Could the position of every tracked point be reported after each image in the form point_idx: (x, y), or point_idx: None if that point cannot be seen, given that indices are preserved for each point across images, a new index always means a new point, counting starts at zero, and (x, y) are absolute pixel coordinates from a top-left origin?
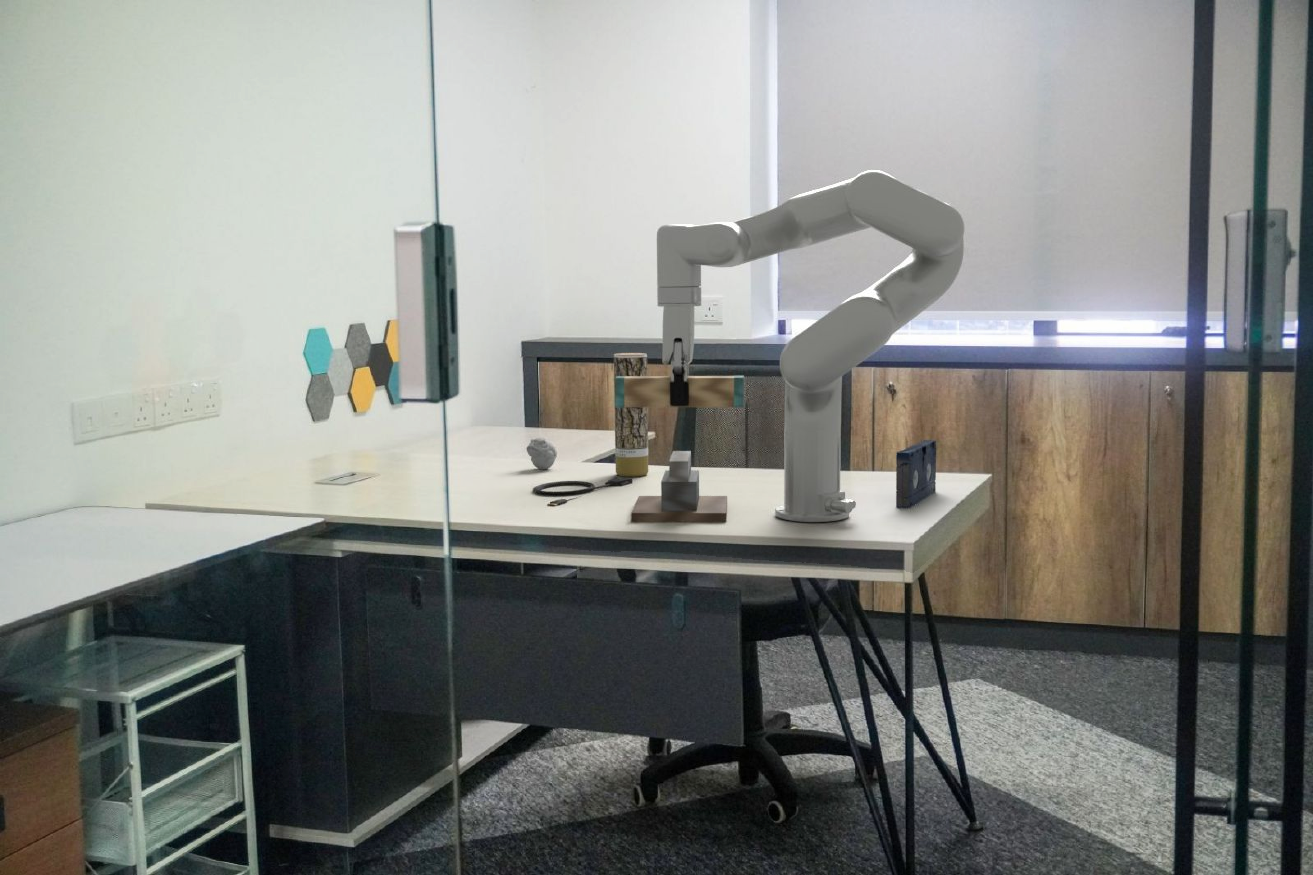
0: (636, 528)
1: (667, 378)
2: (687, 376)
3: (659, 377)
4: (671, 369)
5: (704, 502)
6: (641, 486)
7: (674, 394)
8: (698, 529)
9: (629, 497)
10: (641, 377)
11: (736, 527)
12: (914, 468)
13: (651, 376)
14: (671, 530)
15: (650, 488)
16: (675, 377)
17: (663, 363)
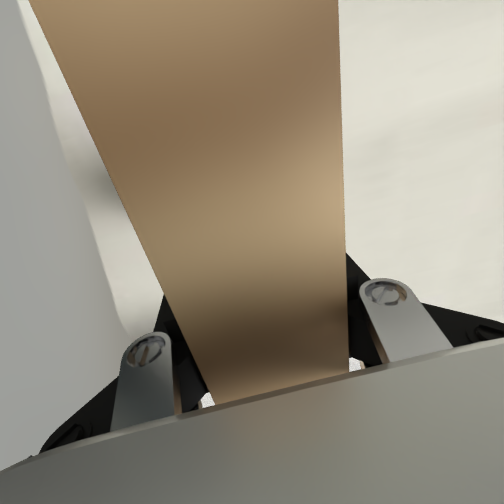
0: (71, 136)
1: (177, 321)
2: (321, 378)
3: (220, 254)
4: (111, 428)
5: None
6: (492, 4)
7: (162, 303)
8: (115, 235)
9: (364, 16)
10: (170, 73)
11: (151, 276)
12: None
13: (309, 154)
14: (87, 200)
15: (464, 37)
16: (105, 398)
17: (10, 466)
